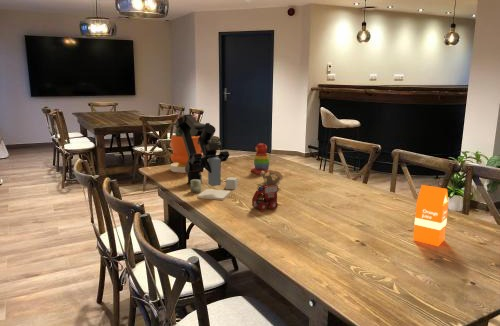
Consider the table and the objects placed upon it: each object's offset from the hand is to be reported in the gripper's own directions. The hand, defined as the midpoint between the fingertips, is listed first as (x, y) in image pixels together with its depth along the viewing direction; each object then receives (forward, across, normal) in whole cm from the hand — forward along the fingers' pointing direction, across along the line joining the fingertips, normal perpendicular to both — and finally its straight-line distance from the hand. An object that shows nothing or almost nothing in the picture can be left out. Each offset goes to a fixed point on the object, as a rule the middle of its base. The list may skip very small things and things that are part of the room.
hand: (215, 172), depth 201 cm
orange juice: (+70, +44, -53) cm, 98 cm away
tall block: (+4, 0, +6) cm, 7 cm away
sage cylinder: (+1, -6, +16) cm, 17 cm away
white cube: (+2, +14, +16) cm, 21 cm away
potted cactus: (-33, +10, +50) cm, 61 cm away
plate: (+8, 0, +9) cm, 12 cm away
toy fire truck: (+28, +11, -11) cm, 32 cm away
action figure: (+5, +34, +12) cm, 36 cm away
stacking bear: (-15, +46, +32) cm, 58 cm away
